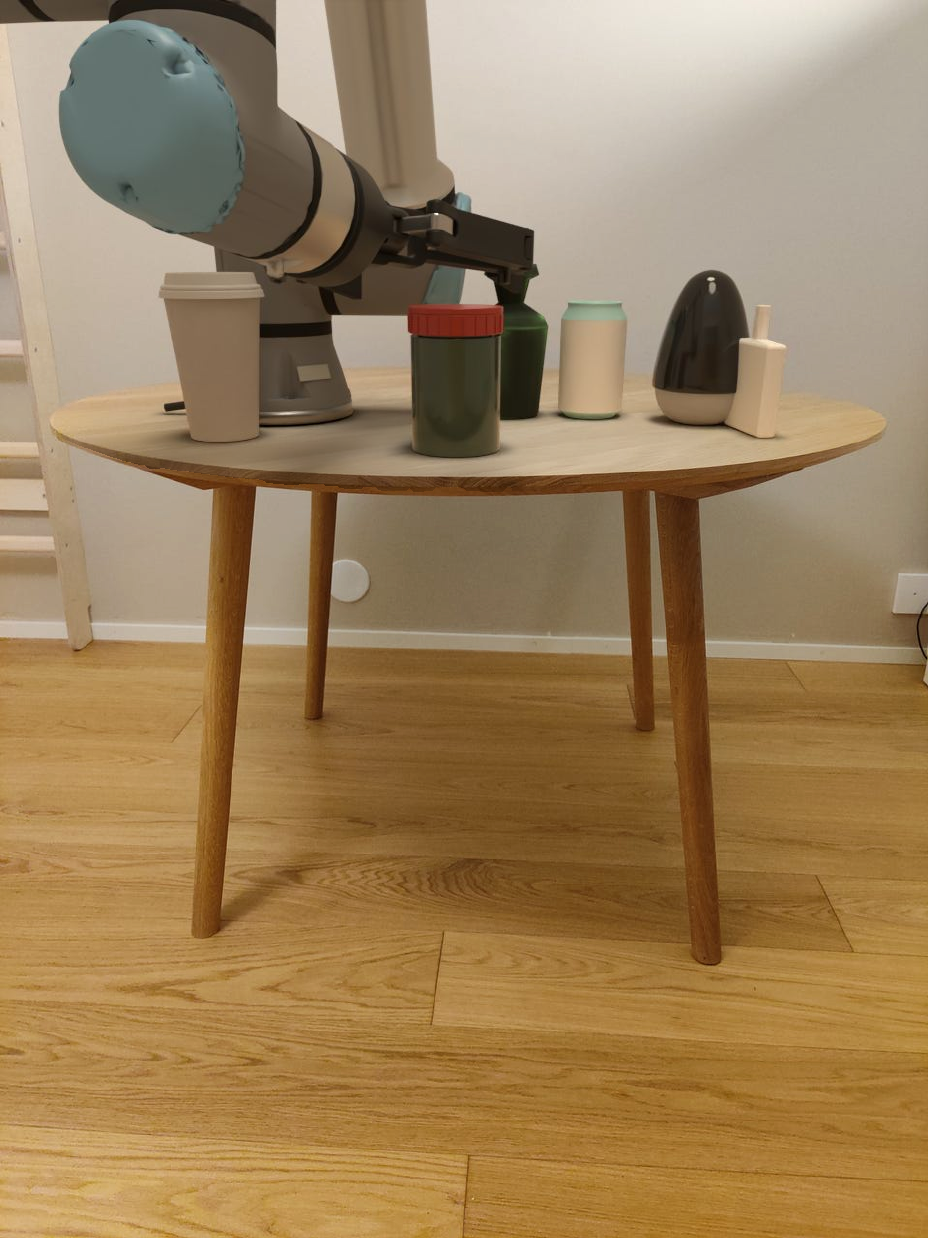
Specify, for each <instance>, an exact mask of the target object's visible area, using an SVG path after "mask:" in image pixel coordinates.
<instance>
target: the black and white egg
mask: <svg viewBox="0 0 928 1238" xmlns="http://www.w3.org/2000/svg"><path fill="white" fill-rule="evenodd" d="M662 332H663V333H662V335H661V339H660V342H659V345H658V349H657V353H656V357H655V362H654V368H653V372H652V380H651V386H652V387H653V388H654V395H655V399H656V402H657V405H658V407H659V409H660V410H661V412H662V413H663V414H664V415H665V416H666V417H667V418H668V419H670V420H672V421H673V422H676V423H678V424H684V425H692V426H693V425H694V426H711V425H713V426H714V425H719V424H723V423H724V420H725V419H726V418H727V417H728V415H729V413H730V410H731V407H732V404H733V399H734V394H735V393H736V389H737V379H738V361H739V341H740V339H741V338H751V335H750V330H749V322H748V318H747V313H746V308H745V304H744V301H743V298H742V295H741V292H740V290H739V288H738V286H737V284H736V281H734V279H733V278H732V277H731V276H730V275H728V274H727V273H725V272H723V271H721V270H718V269H706V270H703V271H700V272H698V273H696V274H694V275H692V277H690V278H689V279H688V281H686V283H685V284H684V285H683V287H682V289H681V290H680V292H679V294H678V295H677V297H676V299H675V300H674V303H673V306H672V308H671V310H670V313H669V315H668V318H667V321H666V323H665V326H664V329H663V331H662Z"/></svg>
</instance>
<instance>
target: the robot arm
mask: <svg viewBox="0 0 928 1238" xmlns="http://www.w3.org/2000/svg"><path fill="white" fill-rule="evenodd" d="M323 2H324V3H323V4H324V9H325V10H324V11H325V16H326V23H327V30H328V37H329V38H328V39H329V44H330V45H329V46H330V53H331V59H332V65H333V71H334V79H335V86H336V93H337V94H336V95H337V102H338V109H339V114H340V121H341V128H342V136H343V142H344V150H345V152H342V150H339V149H338V148H337V147H335V145H333V143H331V142H330V141H328V140H327V139H325V138H324V137H322V136H321V135H319V134H317V133H316V132H315V131H313V130H312V129H310V128H309V127H307V126H306V125H304V124H303V123H301V122H300V121H298V120H297V119H294V118H293V117H292V116H290V115H289V114H288V113H287V112H285V111H284V110H283V109H282V108H281V107H279V103H278V102H279V101H278V57H277V56H278V55H277V54H278V53H277V0H0V25H7V24H8V25H9V24H30V23H33V24H34V23H55V22H56V23H57V22H58V23H64V22H65V23H67V22H68V23H69V22H105V21H108V23H106V24H105V25H103V26H101V27H99V28H98V29H96V30H95V31H93V32H92V33H90V35H88V36H87V38H85V39H84V40H83V41H82V43H81V44H80V45H79V46H78V47H77V49H76V50H75V51H74V53H73V55H72V56H71V58H70V61H69V64H68V67H69V70H70V74H69V76H68V79H67V81H66V86H65V88H64V89H62V90H60V91H59V95H58V97H59V98H58V123H59V124H58V125H59V131H60V136H61V141H62V143H63V147H64V150H65V152H66V155H67V157H68V159H69V162H70V163H71V165H72V167H73V170H74V171H75V172H76V174H77V175H78V177H79V178H80V179H81V181H82V182H83V183H84V184H85V185H86V186H87V188H88V189H89V190H91V191H92V192H93V193H95V195H97V196H98V197H99V198H101V199H102V200H103V201H104V202H107V203H108V204H110V205H112V206H113V207H115V208H117V209H119V210H121V211H122V212H124V213H125V214H127V215H129V216H131V217H134V218H135V219H136V218H137V219H138V220H140V221H143V222H144V223H146V224H147V225H148V226H150V227H151V228H153V229H156V230H159V231H162V232H164V233H167V234H169V235H179V236H182V237H185V238H187V239H190V240H193V241H196V242H199V243H201V244H205V245H208V246H210V247H213V250H214V260H215V261H214V263H215V272H253V273H254V275H255V278H256V282H257V284H259V285H260V286H261V289H262V290H263V293H264V296H265V297H260V323H259V426H283V425H284V426H285V425H286V426H287V425H303V424H304V425H305V424H315V423H323V422H329V421H334V420H339V419H344V418H346V417H349V416H350V415H352V414H353V413H354V412H353V411H354V409H353V399H352V393H351V389H350V388H349V385H348V382H347V378H346V376H345V373H344V370H343V366H342V364H341V361H340V357H339V356H338V353H337V350H336V347H335V345H334V338H333V337H334V336H333V321H332V320H333V316H361V317H362V316H369V317H370V316H371V317H372V316H373V317H374V316H375V317H376V316H377V317H379V316H380V317H381V316H384V317H387V316H391V317H407V314H408V313H409V312H408V306H412V305H427V304H461V300H462V296H463V291H464V284H465V277H466V270H470V271H478V272H484V273H485V272H487V276H486V278H488V279H489V280H491V281H492V282H493V281H494V282H496V283H497V285H501V286H502V287H504V288H505V289H507V290H509V291H510V292H512V293H523V273H524V272H527V271H530V270H532V269H533V264H534V252H535V251H534V250H535V230H534V229H530V228H529V227H524V226H520V225H516V224H513V223H509V222H506V221H502V220H498V219H495V218H492V217H489V216H484V215H481V214H477V213H474V212H472V197H471V196H470V195H468V194H466V193H463V192H461V191H457V192H456V186H455V185H456V184H455V176H454V173H453V171H452V169H451V168H450V167H449V166H448V165H446V164H445V163H444V162H443V161H442V160H440V159H439V158H438V152H437V151H438V149H437V136H436V122H435V109H434V94H433V80H432V67H431V51H430V37H429V25H428V23H429V22H428V10H427V8H428V7H427V0H323ZM494 282H493V283H494ZM163 409H164V412H166V413H168V412H176V411H183V410H186V409H185V404H184V400H181V401H174V402H167V403H164V404H163Z"/></svg>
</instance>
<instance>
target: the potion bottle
mask: <svg viewBox="0 0 928 1238" xmlns="http://www.w3.org/2000/svg"><path fill="white" fill-rule="evenodd" d="M483 276H485V277H487V272H484V273H483ZM538 276H540V272H539V268H538V264H536V263H533V269H532V270H530V271H527V272H524V273H523V293H512V292H510V291H509V290H507V289H505V288H504V287H502V286H501V285H497V283H496V282H494V281H492V282H493V285H494V290H495V296H496V299H497V303H495V304H494V305H499V306H503V314H504V332H503V333H501V334H499V335H501V386H500V420H521V419H530V418H534V417H536V416H537V415H538V414H539V411H540V401H541V394H542V386H543V376H544V367H545V359H546V350H547V341H548V331H549V324H548V322H547V320H546V318H545V316H543V315H542V314H541V313H539V311H537V310H536V309H534V308H532V307H531V306H529V305H528V304H526V303H525V299H526V296H527V292H528V288H529V284H530V280H533V279H535V278H536V277H538Z"/></svg>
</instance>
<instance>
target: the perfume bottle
mask: <svg viewBox="0 0 928 1238" xmlns="http://www.w3.org/2000/svg"><path fill="white" fill-rule="evenodd" d="M771 313H772V305H769V304H757V305H755V312H754V321H753V328H752V337H750V338H741V339H740V341H739V361H738V379H737V389H736V393H735V394H734V399H733V404H732V407H731V410H730V413H729V415H728V417H727V418H726V419H725V420H724V422H723V423H724V424H725V425H727V426H729V427H730V428H733V429H735V430H739V431H741V432H743V433H745V434H748V435H750V436H753V437H755V438H759V439H770V438H774V437H775V436H776V432H777V424H778V423H777V422H778V417H779V409H780V408H779V407H780V401H781V395H782V385H783V380H784V372H785V371H784V370H785V366H786V365H785V364H786V356H787V351H788V348H787V346H786V345H785V344H783V343H780V342H777V341H773V340H770V339H769V338H768V337H769V329H770V321H771Z"/></svg>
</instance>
